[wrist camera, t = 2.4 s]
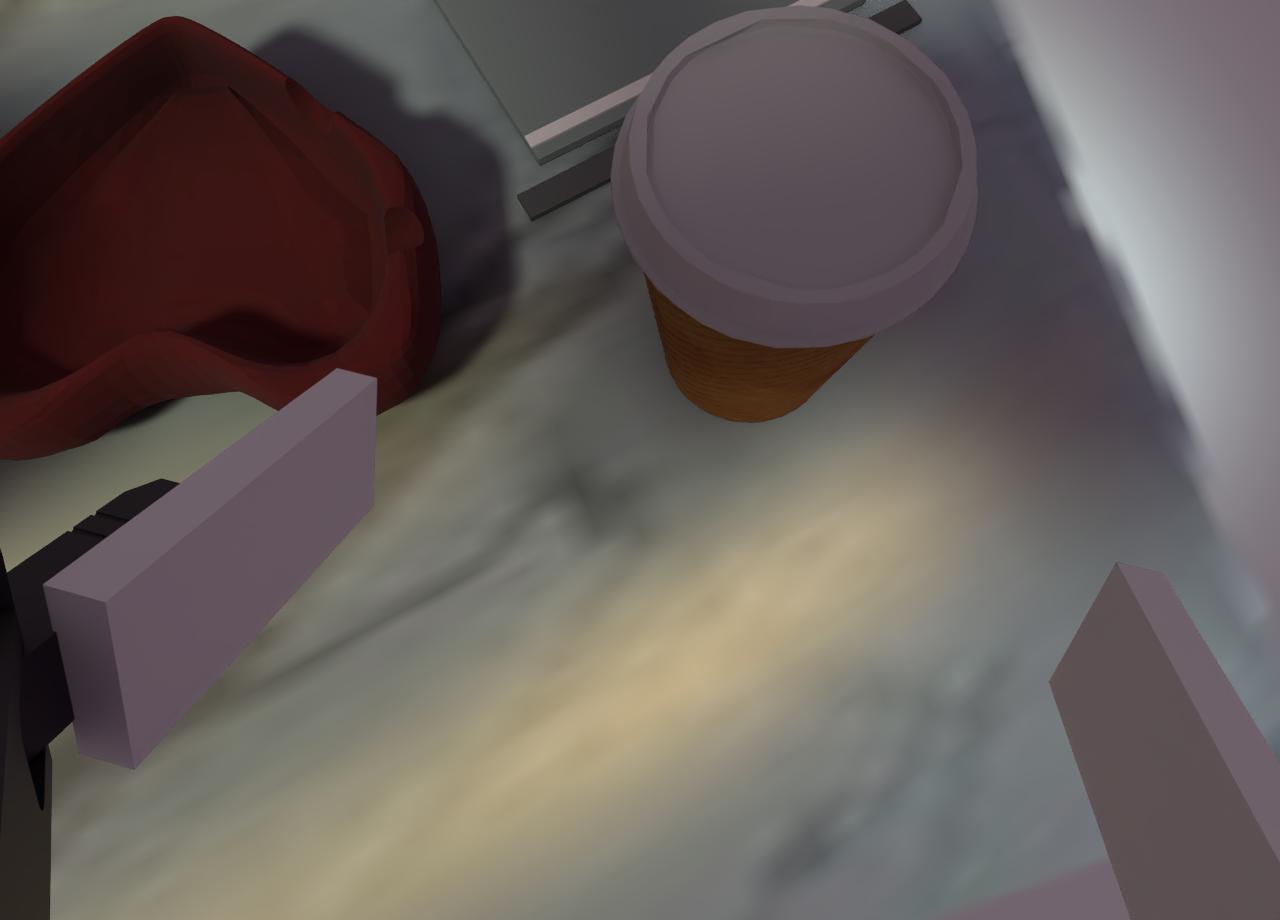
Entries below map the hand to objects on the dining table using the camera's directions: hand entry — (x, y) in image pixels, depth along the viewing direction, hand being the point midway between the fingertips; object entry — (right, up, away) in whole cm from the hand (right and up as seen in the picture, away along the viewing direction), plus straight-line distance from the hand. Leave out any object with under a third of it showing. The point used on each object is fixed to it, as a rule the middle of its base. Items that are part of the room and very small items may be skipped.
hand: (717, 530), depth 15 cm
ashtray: (-18, +9, +19) cm, 27 cm away
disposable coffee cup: (+3, +6, +17) cm, 18 cm away
